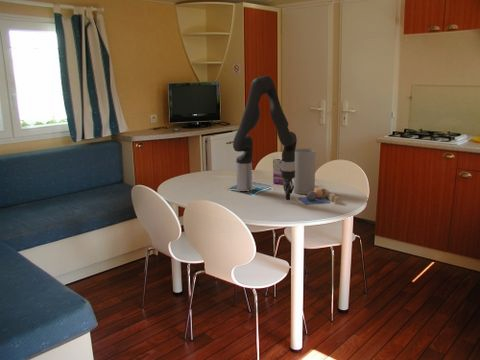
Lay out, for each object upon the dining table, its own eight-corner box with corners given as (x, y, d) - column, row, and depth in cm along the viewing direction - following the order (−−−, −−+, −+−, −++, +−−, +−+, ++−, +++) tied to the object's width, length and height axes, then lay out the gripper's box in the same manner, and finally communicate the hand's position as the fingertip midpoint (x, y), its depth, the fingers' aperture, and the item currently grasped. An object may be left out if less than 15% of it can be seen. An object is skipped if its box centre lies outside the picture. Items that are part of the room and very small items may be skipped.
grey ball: (309, 200, 257) (302, 195, 255) (315, 192, 256) (309, 187, 254) (313, 204, 252) (306, 199, 250) (320, 196, 251) (313, 191, 249)
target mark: (297, 197, 260) (297, 197, 260) (320, 196, 263) (320, 195, 263) (306, 204, 246) (306, 204, 246) (330, 202, 249) (330, 202, 249)
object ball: (314, 200, 260) (309, 192, 259) (322, 195, 261) (317, 186, 261) (318, 200, 254) (313, 192, 254) (326, 194, 255) (321, 186, 255)
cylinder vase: (317, 190, 274) (318, 149, 268) (309, 195, 263) (310, 153, 257) (298, 188, 280) (298, 148, 274) (289, 193, 270) (290, 151, 264)
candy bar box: (291, 182, 293) (291, 157, 289) (290, 184, 289) (290, 159, 285) (274, 182, 296) (274, 157, 292) (273, 184, 291) (273, 158, 287)
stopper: (320, 194, 266) (321, 188, 265) (324, 194, 266) (324, 188, 265) (335, 204, 247) (335, 197, 246) (338, 203, 247) (338, 197, 246)
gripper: (277, 167, 252) (277, 197, 257) (285, 172, 240) (285, 203, 244) (290, 166, 254) (290, 196, 258) (299, 171, 241) (298, 202, 246)
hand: (287, 199), depth 251 cm, fingers closed
